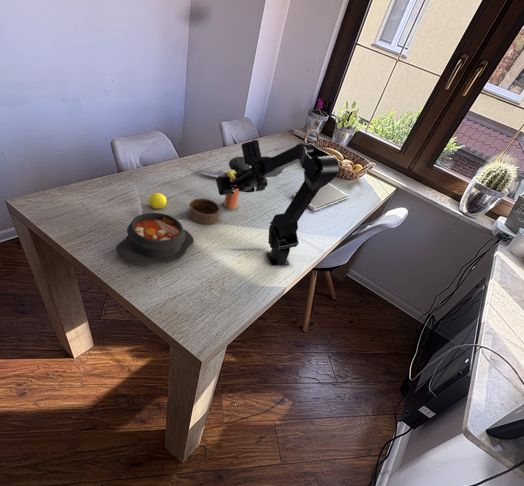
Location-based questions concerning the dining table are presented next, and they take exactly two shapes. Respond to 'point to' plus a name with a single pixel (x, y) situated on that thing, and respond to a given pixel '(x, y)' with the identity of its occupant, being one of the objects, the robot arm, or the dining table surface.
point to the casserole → (154, 240)
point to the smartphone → (326, 197)
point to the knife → (218, 173)
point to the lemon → (157, 200)
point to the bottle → (231, 198)
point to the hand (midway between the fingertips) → (230, 190)
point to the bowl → (204, 211)
